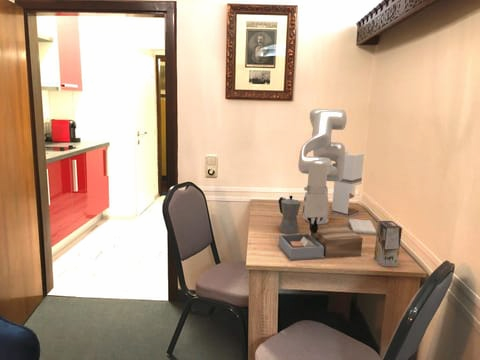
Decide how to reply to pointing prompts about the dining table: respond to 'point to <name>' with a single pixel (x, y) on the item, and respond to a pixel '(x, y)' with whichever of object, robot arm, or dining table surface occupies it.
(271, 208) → the dining table surface
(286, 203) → the coffeepot
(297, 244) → the tile
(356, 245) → the block
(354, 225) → the washcloth
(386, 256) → the coffee box
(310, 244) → the tile
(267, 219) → the dining table surface
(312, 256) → the box
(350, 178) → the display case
